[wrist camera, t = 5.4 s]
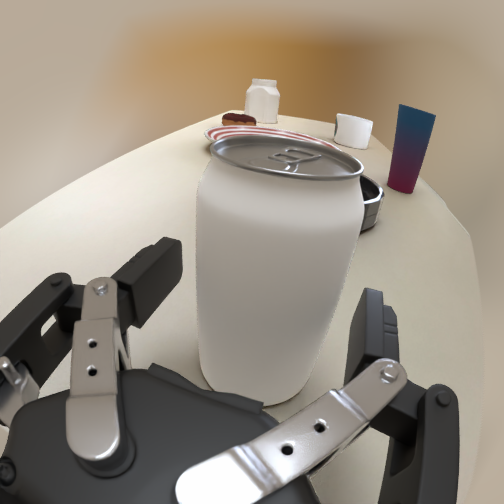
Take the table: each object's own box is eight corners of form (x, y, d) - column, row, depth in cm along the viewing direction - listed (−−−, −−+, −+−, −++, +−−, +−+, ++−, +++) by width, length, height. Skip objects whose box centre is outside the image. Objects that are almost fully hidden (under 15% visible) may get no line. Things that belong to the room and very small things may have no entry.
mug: (370, 152, 75) (375, 123, 71) (332, 143, 76) (337, 115, 72) (364, 143, 86) (369, 119, 82) (331, 136, 88) (335, 111, 83)
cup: (376, 183, 50) (393, 102, 42) (390, 179, 54) (406, 106, 46) (410, 198, 46) (430, 113, 38) (421, 192, 50) (439, 116, 42)
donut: (256, 132, 78) (258, 117, 76) (220, 129, 78) (221, 115, 76) (255, 126, 87) (256, 113, 85) (222, 124, 86) (223, 111, 84)
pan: (331, 181, 47) (335, 159, 45) (400, 230, 34) (409, 202, 32) (234, 183, 42) (236, 157, 40) (285, 243, 29) (291, 206, 27)
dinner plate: (307, 141, 74) (309, 129, 73) (364, 177, 52) (368, 160, 50) (198, 136, 68) (199, 123, 66) (211, 171, 45) (212, 150, 44)
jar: (240, 120, 96) (244, 77, 88) (248, 117, 104) (252, 78, 96) (273, 124, 94) (278, 81, 86) (279, 121, 102) (283, 81, 94)
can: (175, 368, 16) (158, 148, 10) (241, 310, 21) (260, 128, 14) (273, 431, 13) (345, 201, 7) (326, 353, 18) (388, 161, 12)
